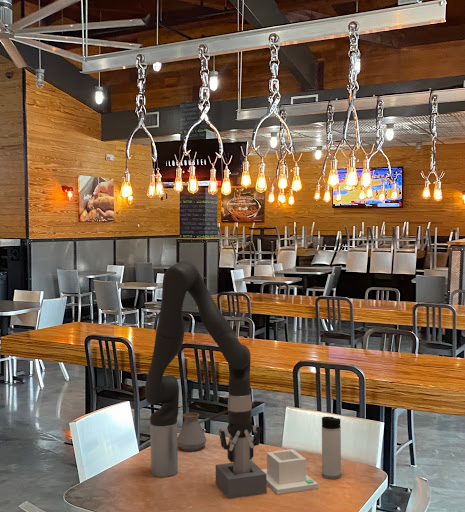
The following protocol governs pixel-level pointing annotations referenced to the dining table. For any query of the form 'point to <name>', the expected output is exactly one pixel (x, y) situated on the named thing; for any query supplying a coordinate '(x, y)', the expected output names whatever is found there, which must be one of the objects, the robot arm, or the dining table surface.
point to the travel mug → (331, 448)
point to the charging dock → (287, 472)
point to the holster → (240, 481)
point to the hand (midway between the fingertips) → (240, 459)
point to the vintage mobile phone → (241, 456)
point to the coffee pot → (193, 432)
